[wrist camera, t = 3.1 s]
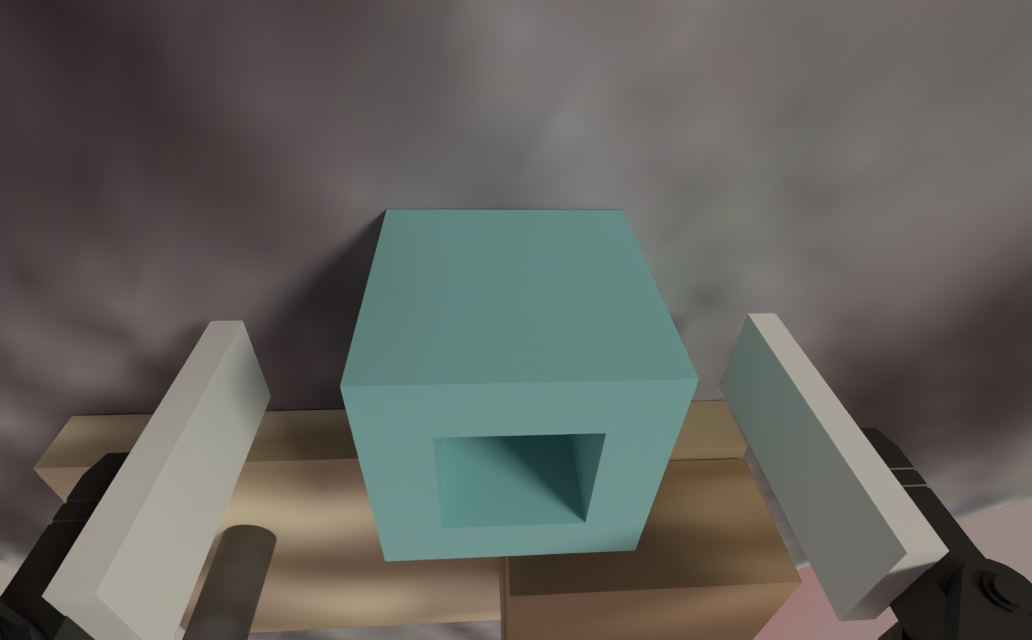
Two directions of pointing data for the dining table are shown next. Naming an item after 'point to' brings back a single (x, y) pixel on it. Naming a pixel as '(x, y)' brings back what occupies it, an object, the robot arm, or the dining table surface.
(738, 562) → the block
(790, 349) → the robot arm
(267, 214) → the dining table surface
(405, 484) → the teal hollow cube
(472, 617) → the base board
